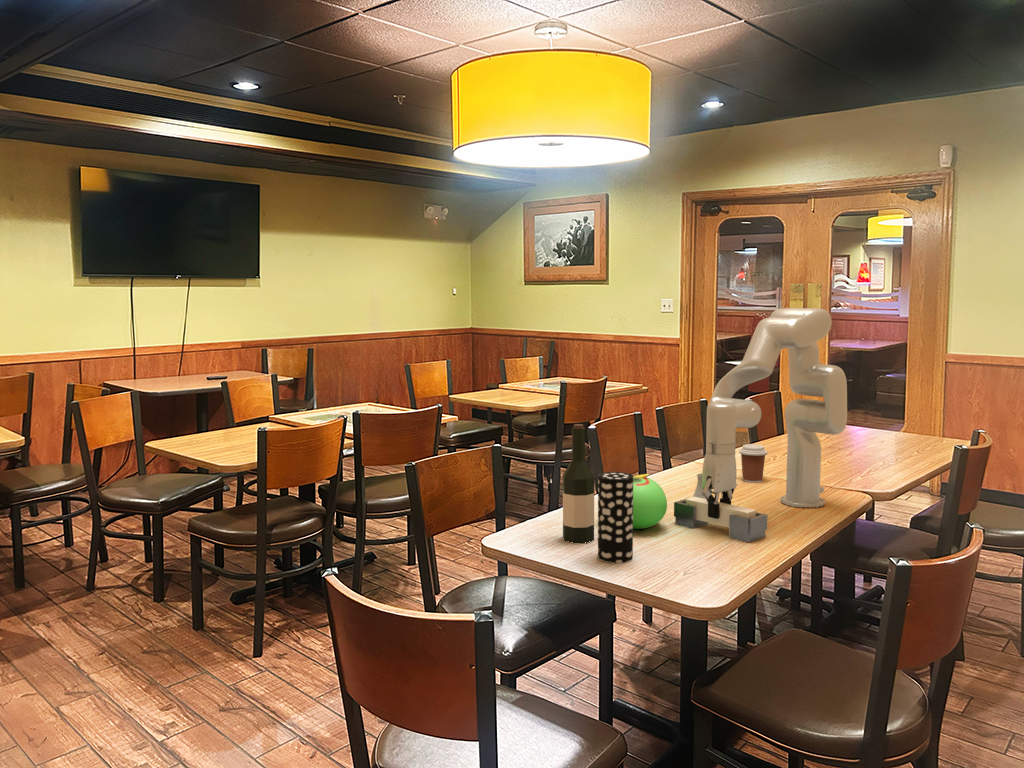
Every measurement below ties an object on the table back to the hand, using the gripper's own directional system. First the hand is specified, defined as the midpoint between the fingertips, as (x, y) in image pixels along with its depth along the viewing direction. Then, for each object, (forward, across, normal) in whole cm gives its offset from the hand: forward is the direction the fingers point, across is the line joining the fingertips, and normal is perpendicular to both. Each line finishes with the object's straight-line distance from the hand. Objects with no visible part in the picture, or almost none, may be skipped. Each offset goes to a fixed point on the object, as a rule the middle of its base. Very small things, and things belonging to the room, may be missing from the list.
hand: (719, 515), depth 207 cm
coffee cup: (+4, -57, -24) cm, 62 cm away
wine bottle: (+4, +33, -20) cm, 39 cm away
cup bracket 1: (+4, 0, -8) cm, 9 cm away
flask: (+4, -16, -16) cm, 23 cm away
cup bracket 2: (+4, 0, +8) cm, 9 cm away
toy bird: (+4, +14, -18) cm, 23 cm away
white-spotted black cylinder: (+4, +37, -4) cm, 38 cm away
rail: (+2, 0, 0) cm, 2 cm away
